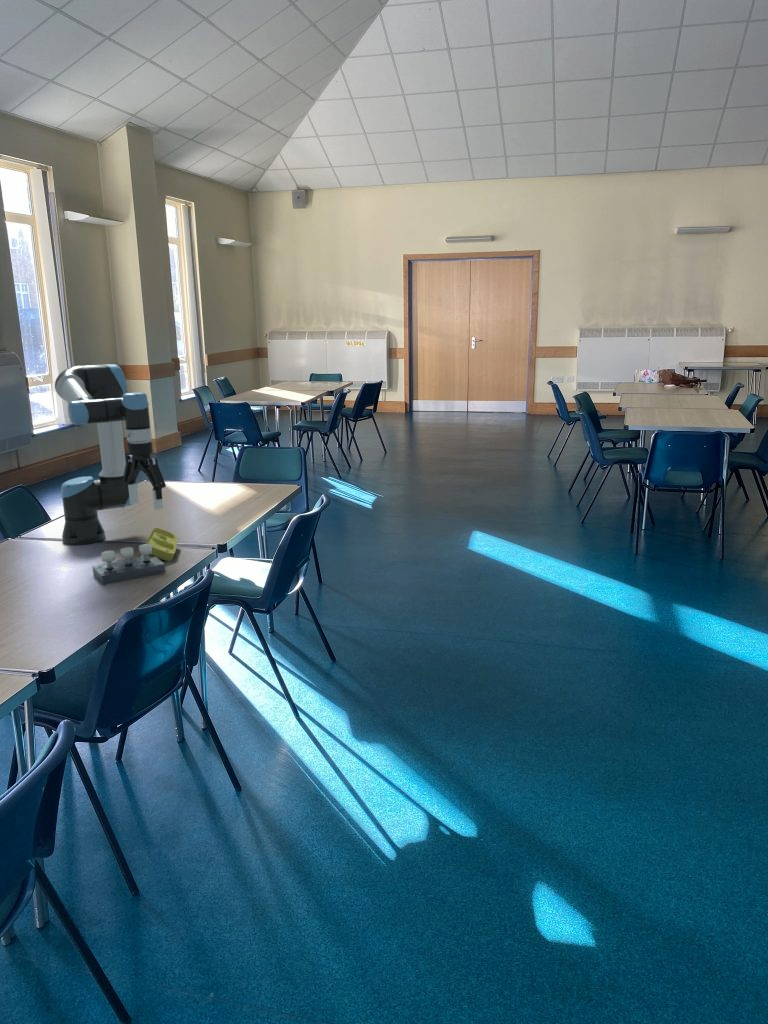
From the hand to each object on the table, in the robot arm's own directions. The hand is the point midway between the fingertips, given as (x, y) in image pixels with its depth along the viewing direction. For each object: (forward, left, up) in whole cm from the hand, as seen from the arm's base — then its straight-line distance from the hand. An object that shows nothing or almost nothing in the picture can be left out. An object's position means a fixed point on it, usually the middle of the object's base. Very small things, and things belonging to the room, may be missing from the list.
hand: (146, 506), depth 246 cm
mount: (0, -8, -22) cm, 23 cm away
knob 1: (0, -14, -18) cm, 23 cm away
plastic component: (-15, +8, -22) cm, 28 cm away
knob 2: (0, -2, -18) cm, 19 cm away
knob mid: (0, -8, -18) cm, 20 cm away
